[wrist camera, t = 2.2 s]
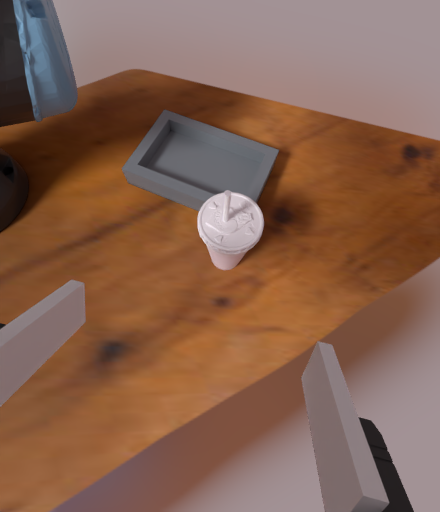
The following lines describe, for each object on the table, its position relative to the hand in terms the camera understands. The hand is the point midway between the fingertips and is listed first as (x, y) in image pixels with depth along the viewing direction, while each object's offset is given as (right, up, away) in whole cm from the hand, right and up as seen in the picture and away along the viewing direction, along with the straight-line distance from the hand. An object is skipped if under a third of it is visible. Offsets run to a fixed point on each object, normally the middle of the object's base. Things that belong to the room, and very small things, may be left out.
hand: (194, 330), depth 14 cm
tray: (-1, +16, +23) cm, 29 cm away
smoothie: (+2, +4, +19) cm, 20 cm away
